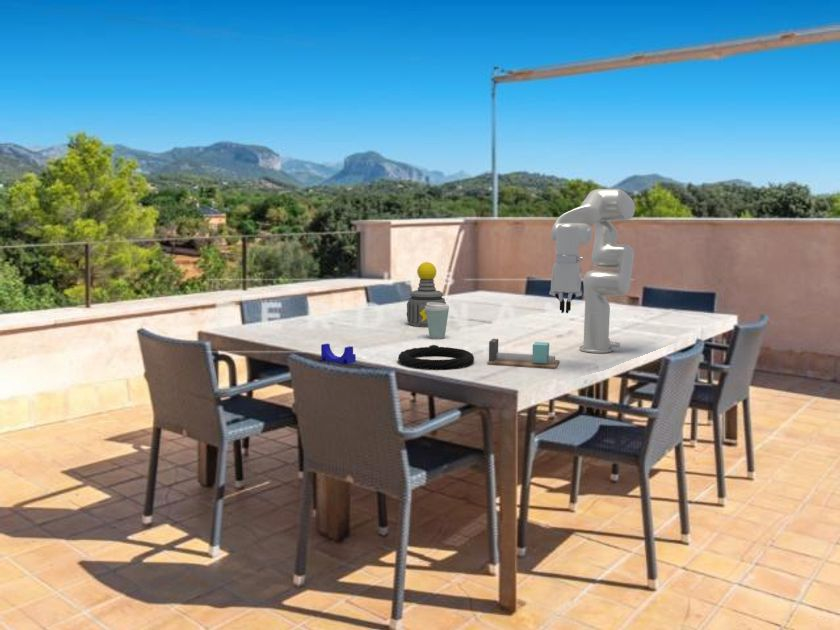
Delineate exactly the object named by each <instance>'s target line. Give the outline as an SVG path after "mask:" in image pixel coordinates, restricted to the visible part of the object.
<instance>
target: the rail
mask: <svg viewBox="0 0 840 630" xmlns="http://www.w3.org/2000/svg"><path fill="white" fill-rule="evenodd" d="M532 356H533V354H530V353H529V354H528V353H513V352H512V353H510V352H499V351H498V352H497V353H496V360H501V361H516V362H532ZM555 360H556V356H555V355H549V356H547V364H555Z"/></svg>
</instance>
